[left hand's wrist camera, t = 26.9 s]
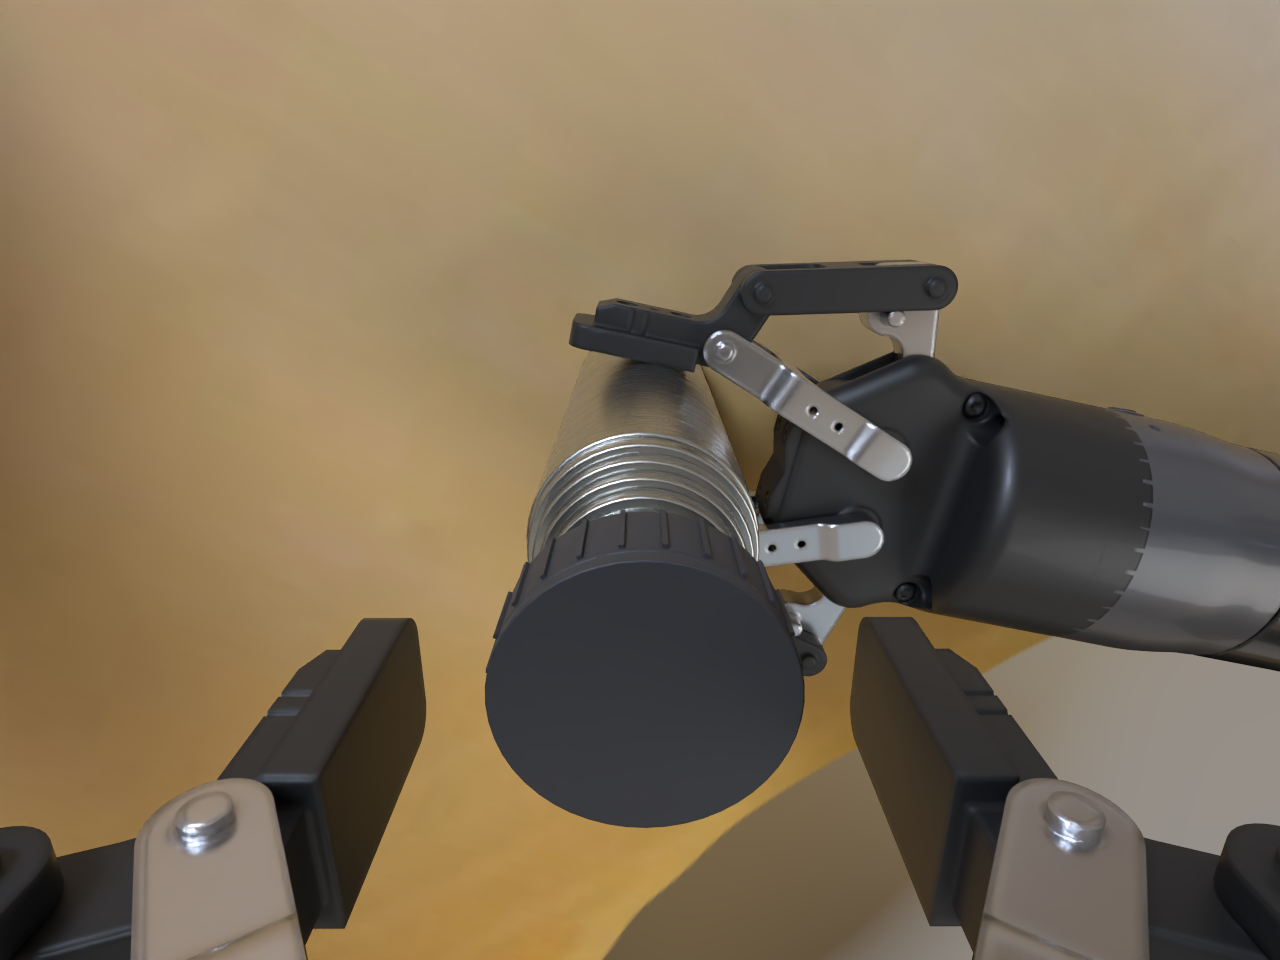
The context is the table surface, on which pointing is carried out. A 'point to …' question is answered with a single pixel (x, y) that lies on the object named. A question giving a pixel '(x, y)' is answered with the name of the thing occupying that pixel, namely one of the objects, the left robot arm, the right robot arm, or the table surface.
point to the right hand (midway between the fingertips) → (559, 418)
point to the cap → (644, 672)
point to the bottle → (641, 454)
